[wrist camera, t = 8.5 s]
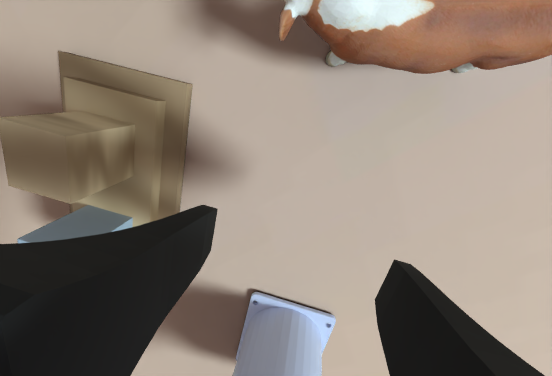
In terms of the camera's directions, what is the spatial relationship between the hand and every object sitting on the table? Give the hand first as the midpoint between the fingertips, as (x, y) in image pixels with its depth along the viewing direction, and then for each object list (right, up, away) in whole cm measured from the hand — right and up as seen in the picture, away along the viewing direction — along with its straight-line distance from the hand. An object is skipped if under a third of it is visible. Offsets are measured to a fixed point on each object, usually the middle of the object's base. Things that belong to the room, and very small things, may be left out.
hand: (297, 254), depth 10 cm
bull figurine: (+6, +12, +6) cm, 15 cm away
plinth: (-14, +3, +13) cm, 19 cm away
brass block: (-13, +6, +9) cm, 17 cm away
